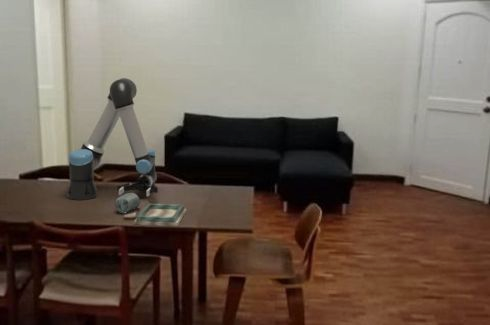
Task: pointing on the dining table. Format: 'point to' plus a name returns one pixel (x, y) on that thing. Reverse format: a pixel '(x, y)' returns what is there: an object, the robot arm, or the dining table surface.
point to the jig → (161, 215)
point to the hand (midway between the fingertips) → (133, 193)
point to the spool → (127, 202)
